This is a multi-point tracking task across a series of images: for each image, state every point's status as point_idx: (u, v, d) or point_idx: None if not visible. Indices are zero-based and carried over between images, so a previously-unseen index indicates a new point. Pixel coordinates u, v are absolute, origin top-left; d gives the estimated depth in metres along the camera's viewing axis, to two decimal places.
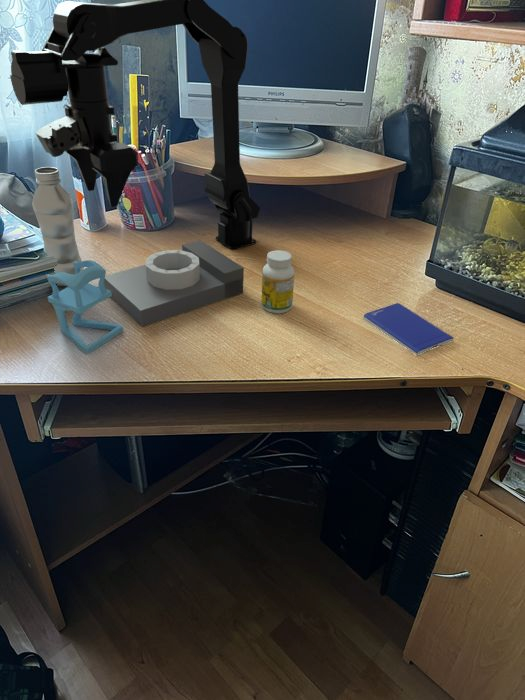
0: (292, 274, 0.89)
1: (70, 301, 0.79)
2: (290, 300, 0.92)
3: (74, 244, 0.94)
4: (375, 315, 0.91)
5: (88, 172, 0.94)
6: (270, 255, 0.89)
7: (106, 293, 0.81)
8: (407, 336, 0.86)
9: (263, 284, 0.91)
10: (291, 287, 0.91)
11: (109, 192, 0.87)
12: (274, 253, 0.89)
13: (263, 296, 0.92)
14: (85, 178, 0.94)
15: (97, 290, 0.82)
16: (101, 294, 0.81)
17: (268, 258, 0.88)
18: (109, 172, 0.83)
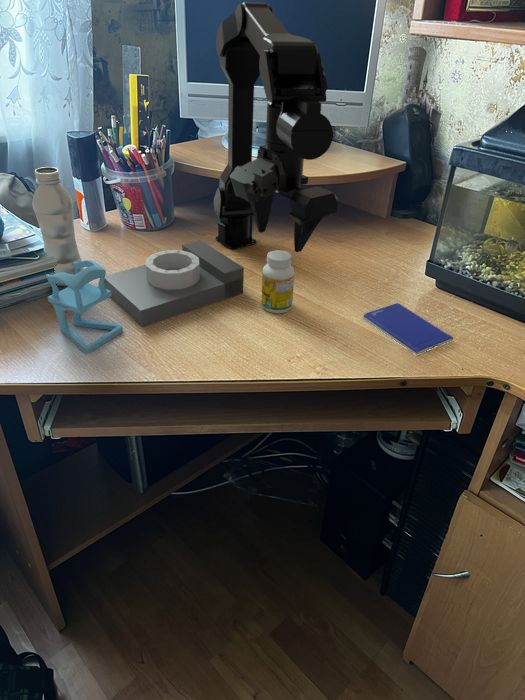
0: (292, 274, 0.89)
1: (70, 301, 0.79)
2: (290, 300, 0.92)
3: (74, 244, 0.94)
4: (375, 315, 0.91)
5: (262, 213, 0.89)
6: (270, 255, 0.89)
7: (106, 293, 0.81)
8: (406, 336, 0.86)
9: (263, 284, 0.91)
10: (291, 287, 0.91)
11: (299, 238, 0.82)
12: (274, 253, 0.89)
13: (263, 296, 0.92)
14: (259, 219, 0.89)
15: (97, 290, 0.82)
16: (101, 294, 0.81)
17: (268, 258, 0.88)
18: (309, 219, 0.78)
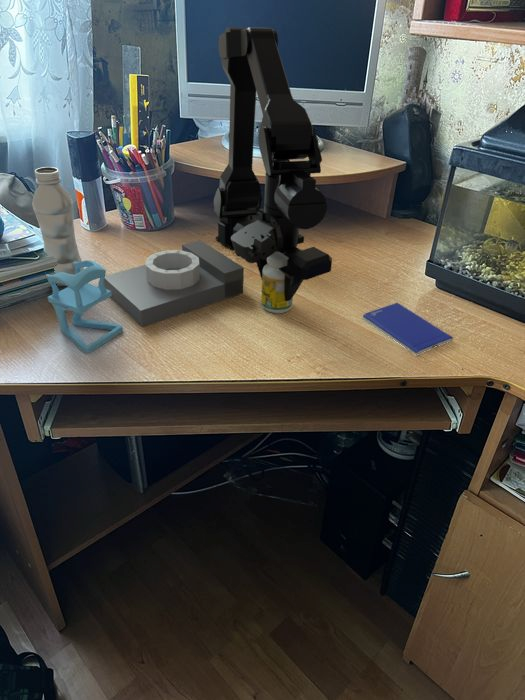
0: None
1: (70, 301, 0.79)
2: (290, 300, 0.92)
3: (74, 244, 0.94)
4: (375, 315, 0.91)
5: None
6: None
7: (106, 293, 0.81)
8: (406, 336, 0.86)
9: (263, 284, 0.91)
10: None
11: (288, 289, 0.88)
12: (274, 253, 0.89)
13: (263, 296, 0.92)
14: None
15: (97, 290, 0.82)
16: (101, 294, 0.81)
17: (268, 258, 0.88)
18: None
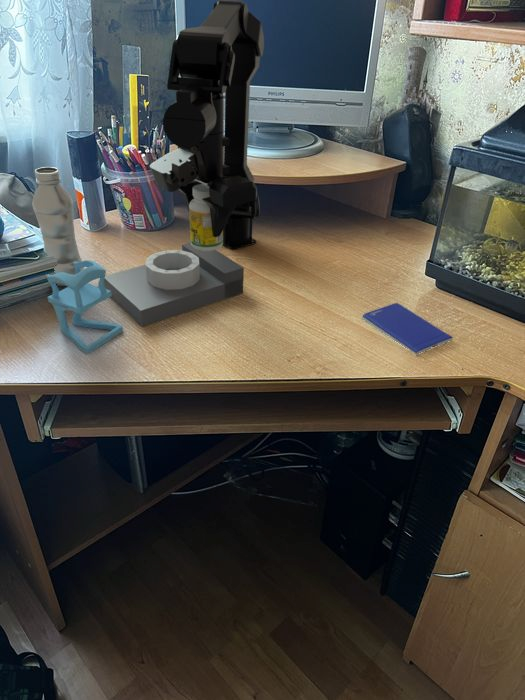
0: None
1: (70, 301, 0.79)
2: (219, 237, 0.88)
3: (74, 244, 0.94)
4: (374, 315, 0.91)
5: None
6: (195, 188, 0.85)
7: (106, 293, 0.81)
8: (406, 336, 0.86)
9: (190, 219, 0.87)
10: None
11: (215, 223, 0.85)
12: (200, 186, 0.85)
13: (191, 233, 0.88)
14: None
15: (97, 290, 0.82)
16: (101, 294, 0.81)
17: (193, 190, 0.84)
18: None
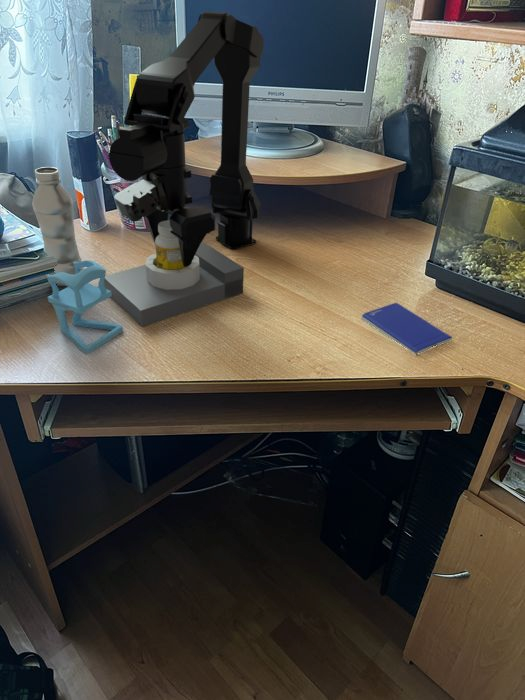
0: None
1: (70, 301, 0.79)
2: None
3: (74, 244, 0.94)
4: (374, 315, 0.91)
5: (157, 229, 0.94)
6: (161, 224, 0.90)
7: (106, 293, 0.81)
8: (405, 335, 0.86)
9: (156, 254, 0.92)
10: None
11: (184, 254, 0.87)
12: (166, 222, 0.90)
13: (157, 266, 0.93)
14: (154, 235, 0.94)
15: (97, 290, 0.82)
16: (101, 294, 0.81)
17: (158, 227, 0.89)
18: (188, 237, 0.83)
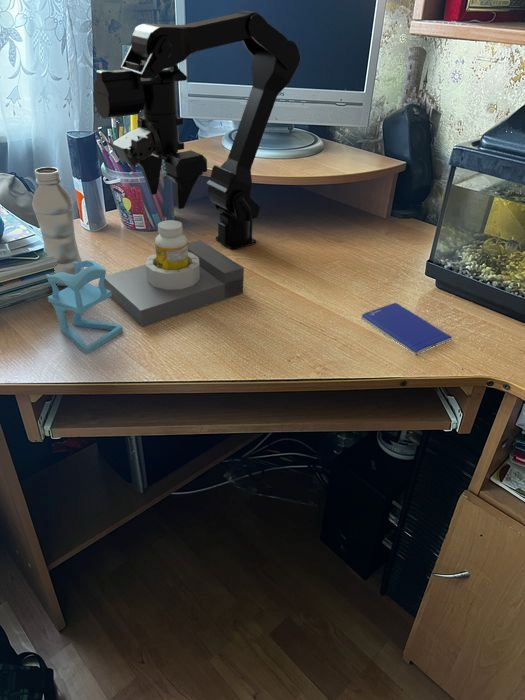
0: (183, 243, 0.90)
1: (70, 301, 0.79)
2: None
3: (74, 244, 0.94)
4: (373, 315, 0.91)
5: (152, 178, 1.02)
6: (160, 224, 0.90)
7: (106, 293, 0.81)
8: (405, 335, 0.86)
9: (156, 254, 0.92)
10: (184, 257, 0.92)
11: (178, 196, 0.96)
12: (165, 222, 0.90)
13: (157, 266, 0.93)
14: (149, 183, 1.02)
15: (97, 290, 0.82)
16: (101, 294, 0.81)
17: (158, 227, 0.89)
18: (182, 178, 0.92)
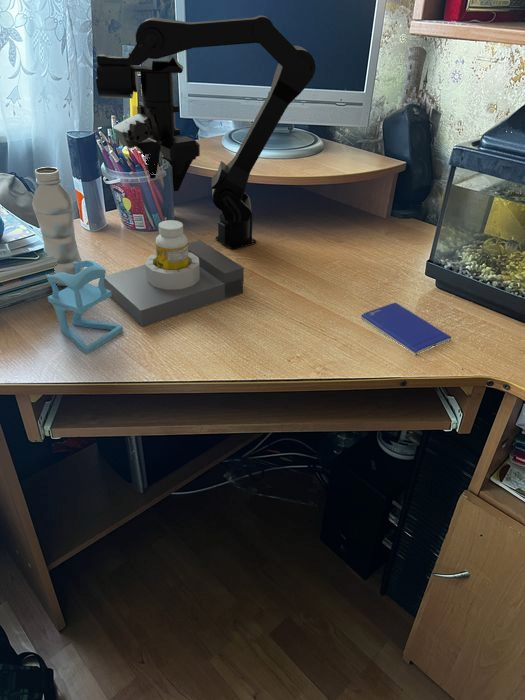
0: (184, 243, 0.90)
1: (70, 301, 0.79)
2: None
3: (74, 244, 0.94)
4: (373, 315, 0.91)
5: (151, 162, 1.09)
6: (161, 224, 0.90)
7: (106, 293, 0.81)
8: (405, 335, 0.86)
9: (156, 253, 0.92)
10: (185, 257, 0.92)
11: (173, 178, 1.02)
12: (166, 222, 0.90)
13: (158, 266, 0.93)
14: (148, 167, 1.09)
15: (97, 290, 0.82)
16: (101, 294, 0.81)
17: (159, 227, 0.89)
18: (176, 161, 0.98)
